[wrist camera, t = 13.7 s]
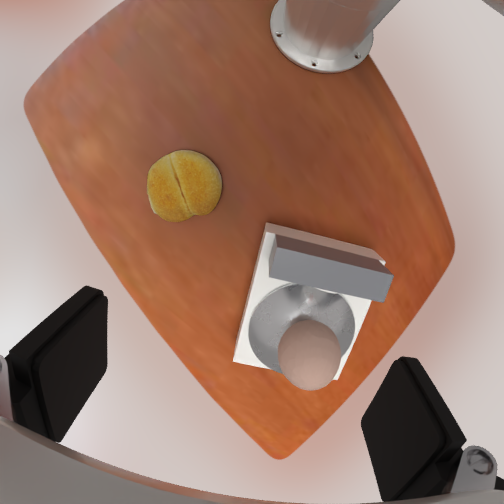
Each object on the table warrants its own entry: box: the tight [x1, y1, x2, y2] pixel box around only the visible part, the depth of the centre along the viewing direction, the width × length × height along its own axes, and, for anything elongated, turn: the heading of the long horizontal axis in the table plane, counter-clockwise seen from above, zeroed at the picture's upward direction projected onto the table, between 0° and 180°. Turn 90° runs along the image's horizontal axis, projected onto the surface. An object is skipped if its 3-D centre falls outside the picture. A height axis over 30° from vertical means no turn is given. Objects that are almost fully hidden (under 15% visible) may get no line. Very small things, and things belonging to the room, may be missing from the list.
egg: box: [278, 320, 341, 390], centre depth 32 cm, size 7×7×9 cm
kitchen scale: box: [233, 222, 394, 380], centre depth 37 cm, size 17×14×10 cm
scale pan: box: [248, 283, 355, 374], centre depth 37 cm, size 13×13×1 cm
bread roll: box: [147, 150, 222, 222], centre depth 36 cm, size 8×9×4 cm
